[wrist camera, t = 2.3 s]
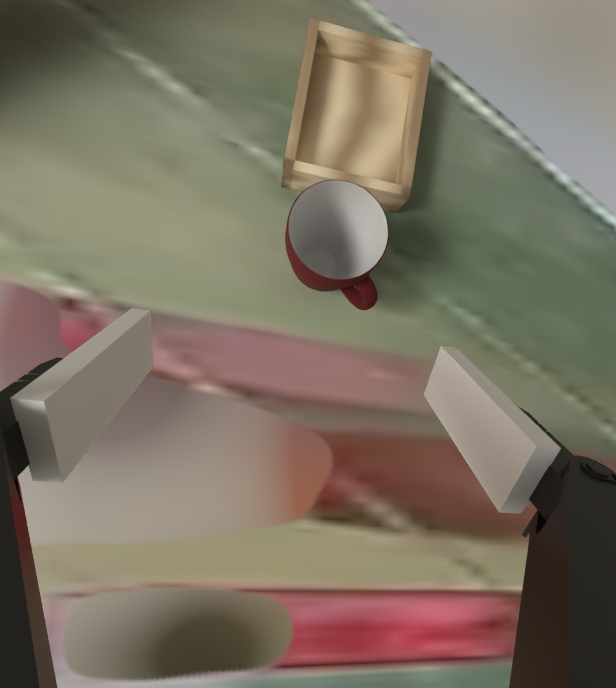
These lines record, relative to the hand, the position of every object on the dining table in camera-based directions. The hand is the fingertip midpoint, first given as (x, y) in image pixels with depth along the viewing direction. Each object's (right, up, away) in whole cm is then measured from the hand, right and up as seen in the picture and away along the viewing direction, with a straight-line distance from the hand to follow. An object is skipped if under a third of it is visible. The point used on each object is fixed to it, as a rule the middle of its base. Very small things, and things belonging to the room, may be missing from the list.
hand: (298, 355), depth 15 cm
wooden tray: (+5, +24, +22) cm, 33 cm away
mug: (+3, +8, +20) cm, 22 cm away
